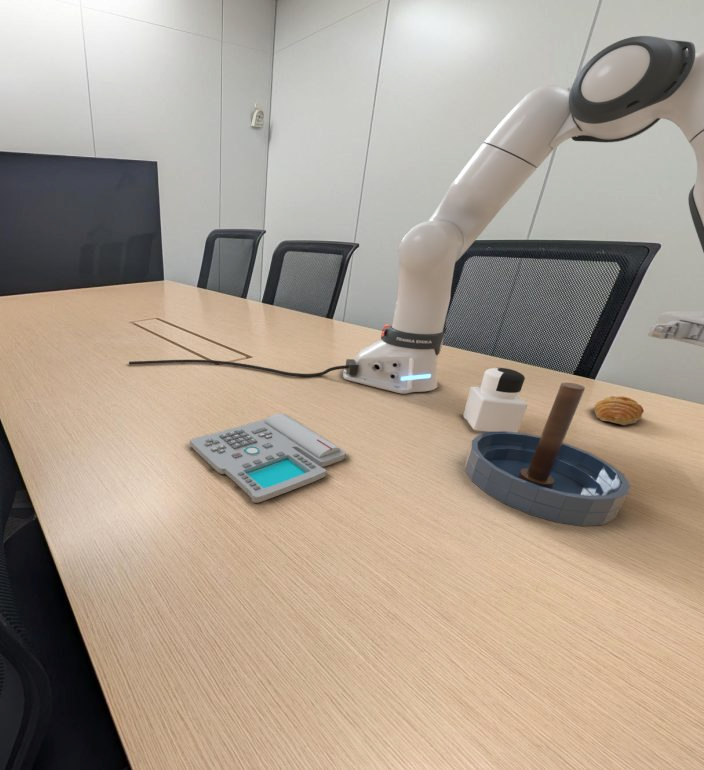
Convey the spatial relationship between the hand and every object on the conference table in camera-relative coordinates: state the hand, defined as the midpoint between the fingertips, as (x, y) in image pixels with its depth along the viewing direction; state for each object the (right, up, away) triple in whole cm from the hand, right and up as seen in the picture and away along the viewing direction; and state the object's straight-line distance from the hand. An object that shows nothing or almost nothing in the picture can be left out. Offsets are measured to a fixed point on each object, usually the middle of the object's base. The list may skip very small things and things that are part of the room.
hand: (694, 340), depth 48 cm
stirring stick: (-12, -21, +10) cm, 26 cm away
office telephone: (-50, -19, +21) cm, 57 cm away
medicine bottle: (-4, -14, +28) cm, 32 cm away
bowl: (-12, -22, +10) cm, 27 cm away
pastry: (+24, -13, +30) cm, 40 cm away
